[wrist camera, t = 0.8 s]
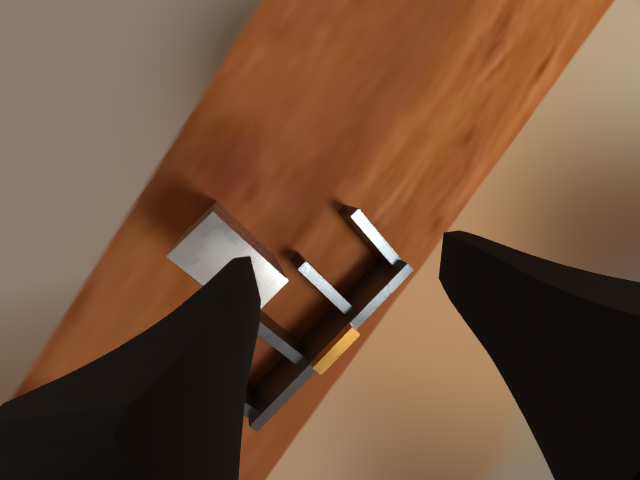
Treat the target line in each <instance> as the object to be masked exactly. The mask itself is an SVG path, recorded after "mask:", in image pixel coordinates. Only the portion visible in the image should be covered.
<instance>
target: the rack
mask: <svg viewBox="0 0 640 480" xmlns="http://www.w3.org/2000/svg"><path fill="white" fill-rule="evenodd" d="M339 213H340V214H341V216H342V217H343V218H344V219H345V220H346V221H347V222H348V224H349V225H350V226H351V227H352V228H353V229H354V230H355V232H356V233H357V234H358V235H359V236H360V237H361V238H362V240H363V241H364V242H365V243H366V244H367V245H368V246H369V248H370V249H371V250H372V251H373V252H374V253H375V254H376V256H377V257H378V258H379V260H378V261H377V262H376V263H375V264H374V265H373V266H372V267H371V268H370V269H369V270H368V271H367V272H366V273H365V274H364V275H363V276H362V277H361V278H360V279H359V280H358V281H357V282H356V284H355V285H354V286H353V287H352V288H351V289H350V290H349V291H348V292H347V293H346V294H345V295H344V296H342V295H341V294H340V293H339V292H338V291H337V290H336V289H335V288H334V287H333V286H332V285H331V284H330V283H329V282H328V281H327V280H326V279H325V278H324V277H323V276H322V275H321V274H320V273H319V272H318V271H317V270H316V269H315V268H314V267H313V266H312V265H311V264H310V263H309V262H308V261H307V260H306V259H305V258H304V257H302V256H301V255H300V254H299V253H297V254H296V255H295V256H294V257H293V258H292V259H291V261H292V262H293V263H294V265H295V266H296V268H297V269H298V270H299V271H300V272H301V273H302V274H303V275H304V276H305V277H306V278H307V279H308V280H309V281H310V282H311V283H313V284H314V285H315V286H316V287H317V288H318V289H319V290H320V291H321V292H322V293H323V294H324V295H325V296H326V297H327V298H328V299H329V300H330V301H331V302H333V303H334V304H335V305H334V306H333V307H332V308H331V309H330V310H329V311H328V312H327V313H326V314H325V315H324V316H323V317H322V318H321V319H320V320H319V321H318V322H317V323H316V324H315V325H314V326H313V327H312V328H311V329H310V330H309V331H308V332H307V333H306V335H305V336H304V337H303V338H302V339H301V340H300V341H298V340H297V339H295V338H294V337H293V336H292V335H290V334H289V333H288V332H287V331H286V330H284V329H283V328H282V327H281V326H279V325H278V324H277V323H276V322H275V321H273V320H272V319H271V318H270V317H268V316H267V315H266V314H265V313H264V312H262V311H261V310H260V324H259V329H258V334H257V335H258V336H260V337H261V338H262V339H264V340H265V341H266V342H267V343H269V344H270V345H271V346H273V347H274V348H275V349H277V350H278V351H279V352H280V353H282V354H283V355H284V357H283V358H282V359H281V360H280V361H279V362H278V363H277V364H276V365H275V366H274V367H273V368H272V369H271V370H270V371H269V372H268V373H267V374H266V375H265V376H264V377H263V378H262V379H261V380H260V381H259V382H258V383H257V384H256V386H255V387H252V386H251V385H249V384H248V383H247V389H246V396H245V406H244V415H245V416H246V417H248V418H249V427H251V428H252V429H254V430H256V431H258V430H259V429H260V428H261V427H262V426H263V425H264V424H265V423H266V422H267V421H268V420H269V419H270V418H271V417H272V416H273V415H274V414H275V413H276V412H277V411H278V410H279V409H280V408H281V407H282V406H283V405H284V403H285V402H286V401H287V400H288V399H289V398H290V397H291V396H292V395H293V394H294V393H295V392H296V391H297V390H298V389H299V388H300V387H301V386H302V385H303V384H304V383H305V382H306V381H307V380H308V379H309V378H310V377H311V376H312V375H313V374H314V372H315V371H317V372H318V373H319V374H320V375H322V374H323V373H324V372H325V371H326V370H327V369H328V368H329V367H330V366H331V365H332V363H333V362H334V361H335V360H336V359H337V358H338V357H339V356H340V355H341V354H342V353H343V352H344V351H345V350H346V349H347V348H348V347H349V346H350V345H351V344H352V343H353V342H354V341H355V340H356V339H357V338H358V337H359V336H360V334H359V333H358V331H357V330H356V329H357V328H358V327H359V326H360V325H361V324H362V323H363V322H364V321H365V320H366V319H367V318H368V317H369V316H370V315H371V314H372V313H373V312H374V311H375V309H376V308H377V307H378V306H379V305H380V304H381V303H382V302H383V301H384V300H385V299H386V298H387V297H388V296H389V295H390V294H391V293H392V292H393V291H394V290H395V289H396V288H397V287H398V286H399V285H400V284H401V283H402V282H403V281H404V280H405V278H406V277H407V276H408V275H409V274H410V273H411V272H412V271H413V269H412V268H411V267H410V266H409V264H408V263H406V262H404V261H402V260H401V259H400V258H399V256H398V255H397V254H396V253H395V252H394V250H393V249H392V248H391V247H390V246H389V244H388V243H387V242H386V241H385V240H384V238H383V237H382V236H381V235H380V234H379V232H378V231H377V230H376V229H375V228H374V226H373V225H372V224H371V223H370V222H369V220H368V219H367V218H366V217H365V216H364V214H363V213H362V212H361V211H360V210H359V209H358V208H355V207H351V206H348V205H345V206H344V207H343V208H342V209H341V210H340V211H339Z"/></svg>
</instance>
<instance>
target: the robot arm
mask: <svg viewBox="0 0 640 480" xmlns="http://www.w3.org/2000/svg"><path fill="white" fill-rule="evenodd" d="M439 279H440V281H441V284H442V286H443V288H444V290H445V291H446V293H447V295H448V297H449V299H450V301H451V302H452V304H453V305H454V306H455V308H456V309H457V311H458V312H459V313H460V315H461V316H462V318H463V319H464V320H465V322H466V323H467V325H468V326H469V327H470V329H471V330H472V331H473V333H474V334H475V336H476V337H477V338H478V340H479V341H480V342H481V344H482V345H483V347H484V348H485V349H486V351H487V352H488V354H489V355H490V357H491V359H492V360H493V362H494V363H495V365H496V367H497V368H498V370H499V372H500V374H501V375H502V377H503V379H504V381H505V382H506V384H507V386H508V388H509V389H510V391H511V393H512V395H513V397H514V399H515V400H516V403H517V404H518V406H519V408H520V410H521V412H522V413H523V415H524V417H525V419H526V421H527V423H528V425H529V427H530V429H531V431H532V433H533V435H534V437H535V439H536V441H537V443H538V445H539V447H540V449H541V451H542V453H543V455H544V457H545V460H546V462H547V464H548V466H549V468H550V470H551V473H552V475H553V477H554V479H555V480H640V282H635V281H630V280H625V279H620V278H615V277H610V276H605V275H601V274H596V273H592V272H589V271H585V270H581V269H577V268H573V267H569V266H565V265H562V264H558V263H555V262H552V261H549V260H546V259H542V258H539V257H536V256H533V255H530V254H527V253H524V252H521V251H518V250H515V249H512V248H510V247H507V246H505V245H502V244H499V243H496V242H494V241H491V240H488V239H485V238H483V237H480V236H477V235H474V234H471V233H468V232H464V231H453V232H444V235H443V244H442V253H441V263H440V272H439ZM260 310H261V298H260V294H259V289H258V285H257V281H256V277H255V273H254V269H253V265H252V261H251V257H250V256H246V257H237V258H233V259H232V260H231V261H229V262H228V263H227V264H226V265H225V266H224V267H223V268H222V269H221V270H220V271H219V272H218V273H217V274H216V275H215V276H214V277H212V278H211V279H210V280H209V281H208V282H207V283H206V284H205V285H204V286H203V287H202V288H201V289H199V290H198V291H197V292H196V293H195V294H194V295H192V296H191V297H190V298H189V299H188V300H186V301H185V302H184V303H183V304H182V305H181V306H179V307H178V308H177V309H175V310H174V311H173V312H171V313H170V314H169V315H168V316H166V317H165V318H163V319H162V320H160V321H159V322H158V323H156V324H155V325H153V326H152V327H150V328H149V329H147V330H146V331H144V332H142V333H141V334H139V335H138V336H136V337H134V338H133V339H131V340H129V341H128V342H126V343H125V344H123V345H121V346H120V347H118V348H116V349H115V350H113V351H111V352H109V353H107V354H106V355H104V356H102V357H100V358H98V359H96V360H95V361H93V362H91V363H89V364H87V365H85V366H83V367H81V368H79V369H77V370H75V371H73V372H71V373H69V374H67V375H65V376H63V377H61V378H59V379H57V380H54V381H52V382H50V383H48V384H46V385H43V386H41V387H39V388H37V389H35V390H33V391H30V392H28V393H26V394H24V395H22V396H19V397H17V398H15V399H13V400H10V401H8V402H6V403H4V404H3V405H2V406H0V480H238V477H239V463H240V450H241V438H242V426H243V416H244V406H245V396H246V389H247V383H248V377H249V372H250V368H251V363H252V358H253V353H254V349H255V344H256V339H257V334H258V329H259V324H260Z"/></svg>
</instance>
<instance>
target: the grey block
mask: <svg viewBox="0 0 640 480" xmlns="http://www.w3.org/2000/svg"><path fill="white" fill-rule="evenodd" d="M246 256H250V257H251V261H252V265H253V269H254V273H255V277H256V281H257V285H258V289H259V294H260V298H261V308H262V307H263V306H264V305H265V304H266V303H267V302H268V301H269V300H270V299H271V298H272V297H273V296H274V295H275V294H276V293H277V292H278V291H279V290H280V289H281V288H282V287H283V286H284V285H285V284H286V283H287V282H288V279H287V277H286V275H285V273H284V272H283V270H282V268H281V266H280V264H279V263H278V261H277V259H276V257H275V256H274V254H273V253H272V252H271V251H270V250H268V249H267V248H266V247H265V246H264V245H263V244H262V243H261V242H260V241H259V240H258V239H257V238H256V237H255V236H254V235H252V234H251V233H250V232H249V231H248V230H247V229H246V228H245V227H244V226H243V225H242V224H241V223H240V222H239V221H237V220H236V219H235V218H234V217H233V216H232V215H231V214H230V213H229V212H228V211H227V210H226V209H225V208H224V207H223V206H221V205H220V204H219V203H218V202H217V201H216V202H215V203H214V204H213V205H212V206H211V207H210V208H209V209H208V210H206V211H205V212H204V213H203V214H202V215H201V216H200V217H199V218H198V219H197V220H196V221H195V222H194V223H193V224H192V225H191V226H190V227H189V228H188V229H187V230H186V231H185V232H184V233H183V234H182V235H181V236H180V238H179V239H178V240H177V242H176V243H175V245H174V246H173V248H172V249H171V250H170V252H169V253H168V255H167V256H166V257H167V258H169V259H170V260H171V261H172V262H174V263H175V264H176V265H177V266H179V267H180V268H181V269H183V270H184V271H185V272H186V273H188V274H189V275H190V276H192V277H193V278H194V279H195V280H197V281H198V282H199V283H200V284H202V285H203V286H204V285H205V284H206V283H207V282H208V281H209V280H210V279H211V278H212V277H214V276H215V275H216V274H217V273H218V272H219V271H220V270H221V269H222V268H223V267H224V266H225V265H226V264H227V263H228V262H229V261H231V260H232V259H233V258H237V257H246Z"/></svg>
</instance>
